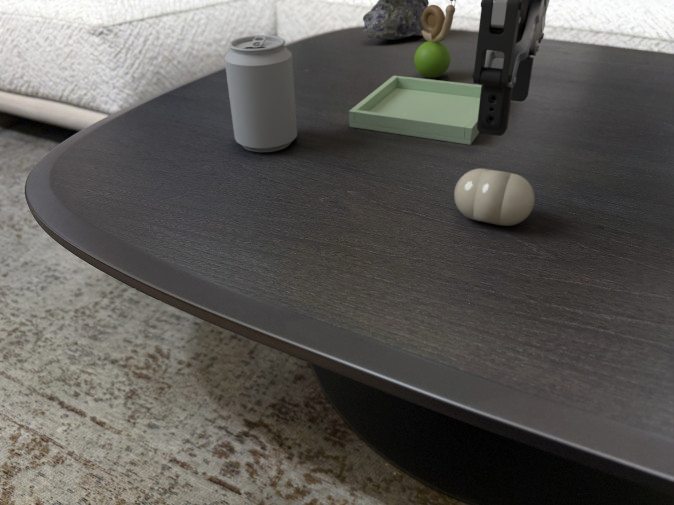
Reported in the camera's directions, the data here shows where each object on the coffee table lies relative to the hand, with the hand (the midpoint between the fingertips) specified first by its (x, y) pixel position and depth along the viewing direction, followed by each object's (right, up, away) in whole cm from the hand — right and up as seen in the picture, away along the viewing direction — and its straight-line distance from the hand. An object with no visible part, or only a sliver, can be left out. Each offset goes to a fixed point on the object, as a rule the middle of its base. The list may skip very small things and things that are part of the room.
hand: (503, 115), depth 50 cm
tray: (-2, +7, +29) cm, 30 cm away
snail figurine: (+1, +15, +42) cm, 44 cm away
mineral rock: (-3, +29, +63) cm, 69 cm away
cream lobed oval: (0, -9, +6) cm, 10 cm away
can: (-22, +2, +22) cm, 32 cm away
